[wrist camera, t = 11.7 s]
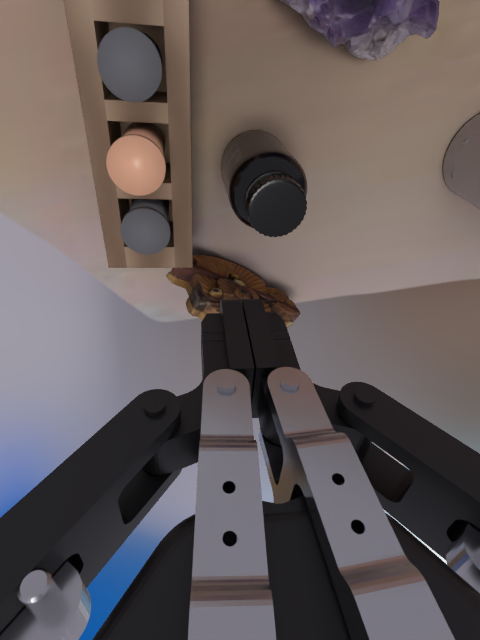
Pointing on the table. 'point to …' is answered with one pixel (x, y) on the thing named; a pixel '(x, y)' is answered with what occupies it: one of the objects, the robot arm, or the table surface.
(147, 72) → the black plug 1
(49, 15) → the table surface
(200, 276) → the wooden carving
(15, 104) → the table surface
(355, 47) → the geode
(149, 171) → the terracotta plug
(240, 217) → the supplement bottle
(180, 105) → the walnut socket block
